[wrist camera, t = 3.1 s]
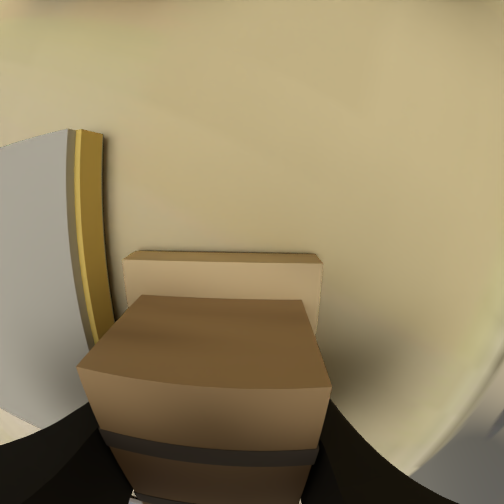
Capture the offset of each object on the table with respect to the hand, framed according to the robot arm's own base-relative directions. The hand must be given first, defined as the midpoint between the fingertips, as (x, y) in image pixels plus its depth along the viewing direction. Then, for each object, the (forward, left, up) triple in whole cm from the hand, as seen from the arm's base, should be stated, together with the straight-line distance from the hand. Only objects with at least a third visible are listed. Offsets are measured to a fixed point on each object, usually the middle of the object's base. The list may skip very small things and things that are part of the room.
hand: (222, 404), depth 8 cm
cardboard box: (0, 0, -1) cm, 1 cm away
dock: (+2, +9, -2) cm, 9 cm away
